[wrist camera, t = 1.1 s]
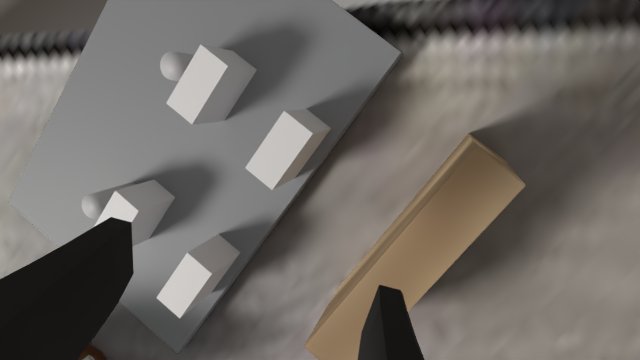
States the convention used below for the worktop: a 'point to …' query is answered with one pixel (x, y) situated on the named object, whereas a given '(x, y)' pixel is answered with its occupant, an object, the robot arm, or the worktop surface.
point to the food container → (92, 354)
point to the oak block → (419, 243)
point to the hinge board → (197, 137)
